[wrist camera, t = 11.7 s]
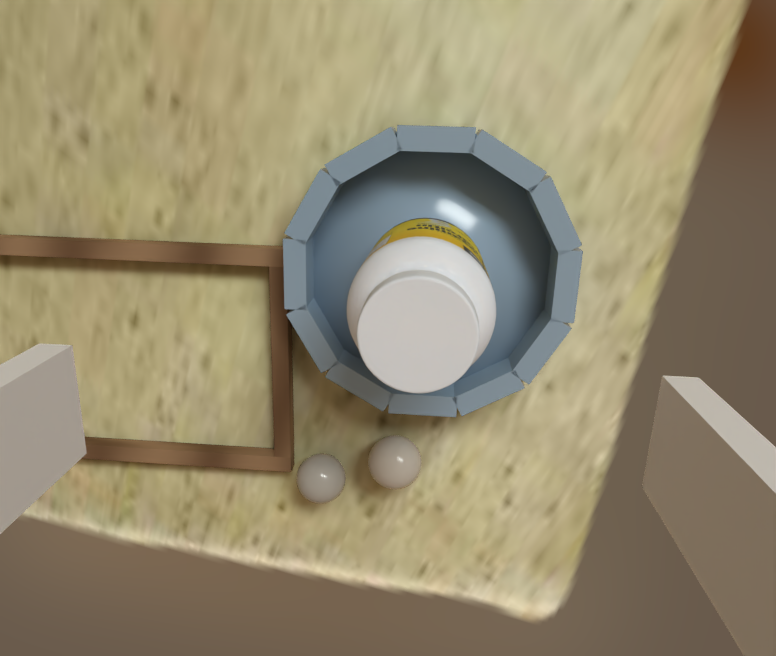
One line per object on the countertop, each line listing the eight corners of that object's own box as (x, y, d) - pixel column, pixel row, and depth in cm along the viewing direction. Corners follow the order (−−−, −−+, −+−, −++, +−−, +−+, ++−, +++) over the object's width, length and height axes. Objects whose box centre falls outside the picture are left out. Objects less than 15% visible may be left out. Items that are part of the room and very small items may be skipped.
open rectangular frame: (-91, 439, 41) (-103, 446, 40) (-139, 228, 37) (-154, 231, 36) (294, 463, 39) (290, 471, 38) (290, 246, 35) (286, 249, 34)
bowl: (297, 387, 38) (286, 407, 35) (293, 123, 33) (280, 121, 30) (552, 401, 37) (561, 423, 34) (583, 131, 32) (597, 130, 29)
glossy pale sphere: (302, 484, 40) (292, 511, 37) (301, 443, 39) (291, 467, 36) (348, 487, 39) (341, 515, 37) (348, 446, 38) (342, 470, 36)
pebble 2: (370, 470, 39) (364, 498, 36) (371, 424, 38) (365, 449, 35) (420, 473, 39) (419, 502, 36) (423, 427, 38) (422, 452, 35)
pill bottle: (506, 290, 34) (539, 362, 23) (409, 350, 35) (396, 445, 24) (441, 191, 33) (443, 216, 22) (344, 257, 34) (299, 313, 23)
